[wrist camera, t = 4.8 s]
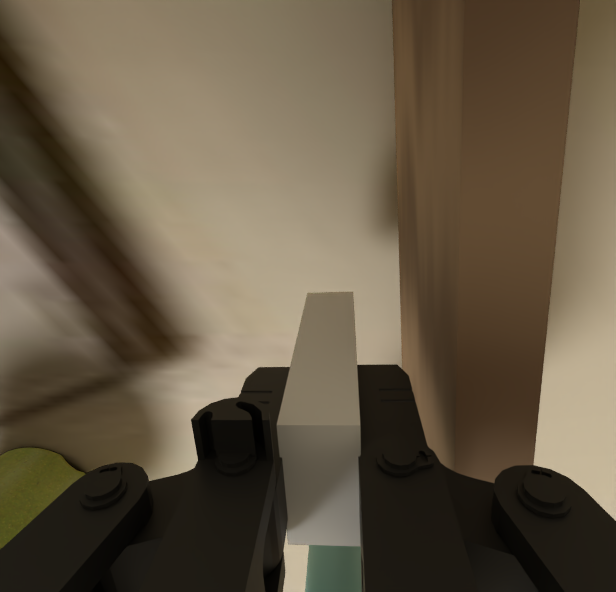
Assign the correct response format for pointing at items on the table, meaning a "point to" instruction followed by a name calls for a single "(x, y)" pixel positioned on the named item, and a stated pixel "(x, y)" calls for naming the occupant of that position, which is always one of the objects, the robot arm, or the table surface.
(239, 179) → the table surface
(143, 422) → the table surface
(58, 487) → the plant pot
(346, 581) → the post
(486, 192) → the gate
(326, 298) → the robot arm
